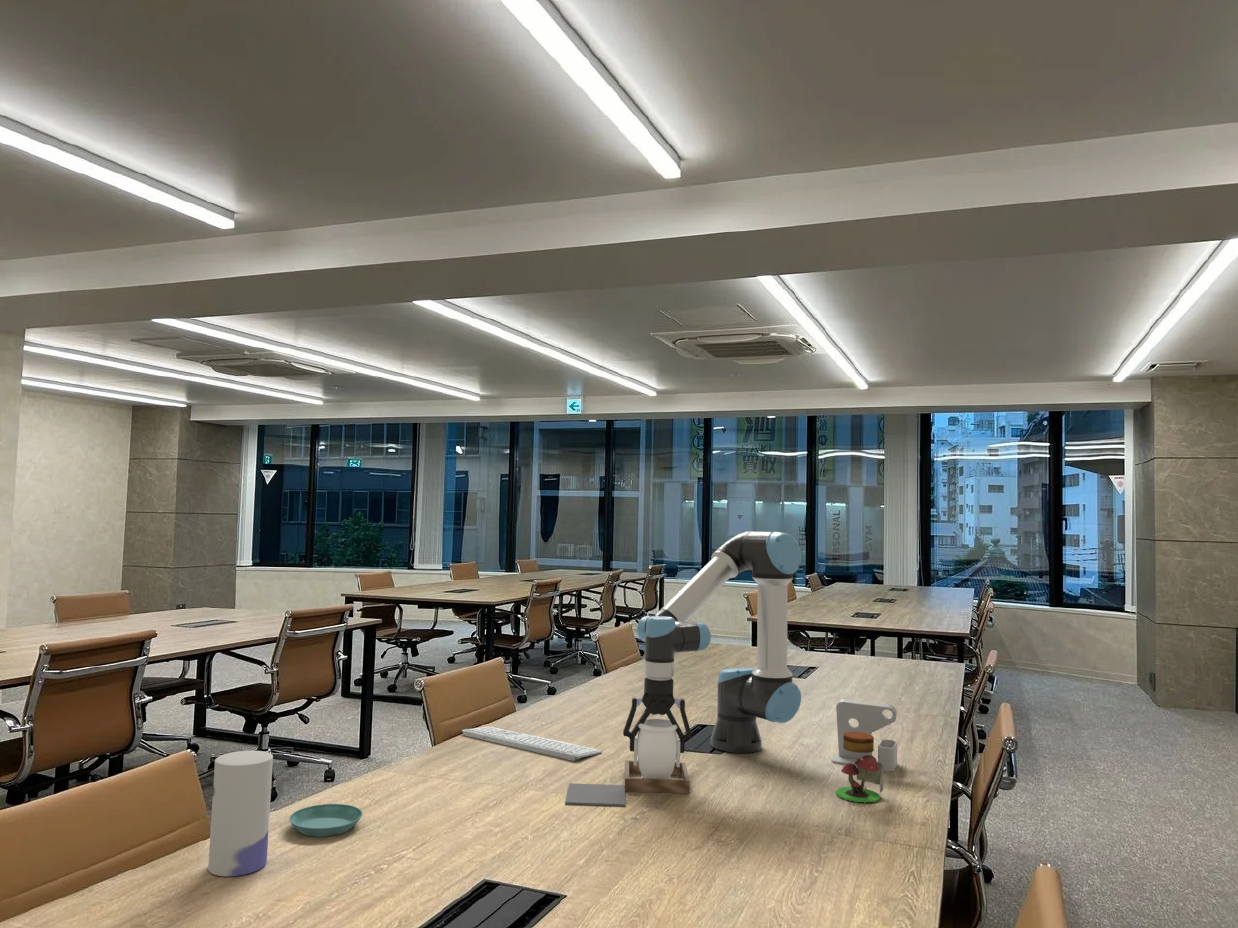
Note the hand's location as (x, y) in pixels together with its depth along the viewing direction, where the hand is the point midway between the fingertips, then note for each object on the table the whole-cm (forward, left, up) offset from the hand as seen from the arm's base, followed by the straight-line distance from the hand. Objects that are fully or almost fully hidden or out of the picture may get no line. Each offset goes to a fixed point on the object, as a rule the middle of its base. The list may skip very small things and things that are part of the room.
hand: (656, 764), depth 215 cm
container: (+81, +59, -4) cm, 100 cm away
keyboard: (+36, -33, -5) cm, 49 cm away
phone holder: (-60, -24, -5) cm, 65 cm away
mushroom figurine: (-50, +6, -5) cm, 51 cm away
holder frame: (0, 0, -4) cm, 4 cm away
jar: (0, 0, -4) cm, 4 cm away
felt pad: (+15, +12, -4) cm, 20 cm away
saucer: (+72, +38, -5) cm, 81 cm away
